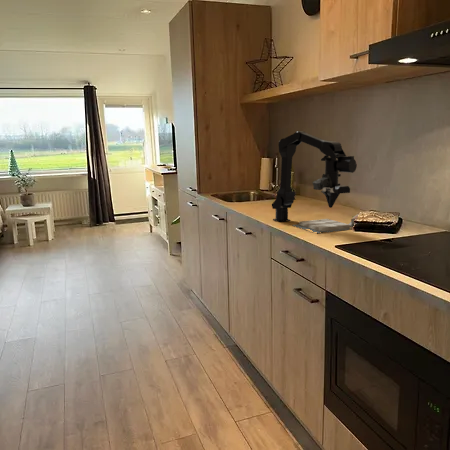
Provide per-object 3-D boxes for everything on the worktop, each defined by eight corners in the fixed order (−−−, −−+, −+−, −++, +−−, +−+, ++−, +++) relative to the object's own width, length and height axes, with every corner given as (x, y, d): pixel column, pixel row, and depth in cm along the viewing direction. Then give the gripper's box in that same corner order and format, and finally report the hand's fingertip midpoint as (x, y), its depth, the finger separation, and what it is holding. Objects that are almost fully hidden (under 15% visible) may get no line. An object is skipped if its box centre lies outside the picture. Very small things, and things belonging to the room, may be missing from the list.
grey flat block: (317, 222, 198) (317, 219, 198) (327, 221, 200) (327, 218, 200) (339, 229, 184) (339, 225, 183) (349, 228, 186) (350, 224, 186)
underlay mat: (292, 225, 194) (292, 224, 194) (325, 221, 202) (325, 221, 202) (316, 233, 177) (316, 233, 177) (352, 229, 185) (352, 228, 185)
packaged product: (370, 219, 184) (347, 217, 189) (369, 230, 185) (346, 228, 190) (376, 212, 200) (354, 211, 204) (375, 222, 201) (354, 221, 205)
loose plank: (299, 224, 194) (299, 221, 194) (316, 222, 198) (317, 219, 198) (320, 231, 180) (320, 227, 179) (338, 229, 184) (339, 226, 183)
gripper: (303, 171, 186) (303, 205, 189) (329, 174, 169) (328, 212, 172) (324, 170, 190) (323, 204, 193) (351, 172, 173) (350, 210, 176)
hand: (330, 207), depth 183 cm, fingers closed
